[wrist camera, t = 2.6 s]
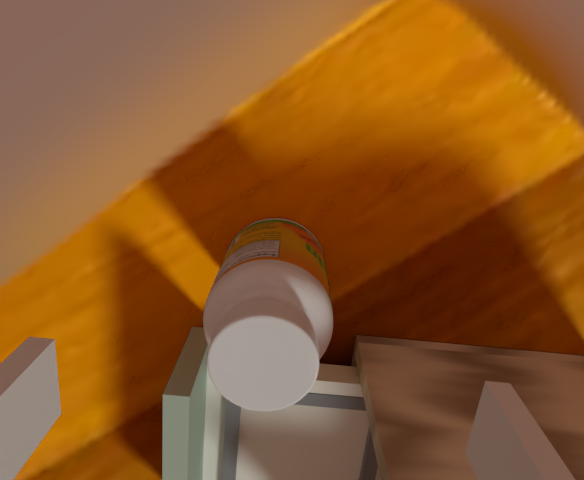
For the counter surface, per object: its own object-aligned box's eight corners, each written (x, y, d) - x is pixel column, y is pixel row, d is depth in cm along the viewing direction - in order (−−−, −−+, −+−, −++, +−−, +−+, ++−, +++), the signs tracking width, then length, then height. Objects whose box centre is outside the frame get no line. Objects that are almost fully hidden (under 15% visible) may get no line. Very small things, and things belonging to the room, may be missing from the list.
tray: (185, 506, 30) (160, 603, 25) (191, 326, 26) (161, 394, 20) (394, 524, 31) (416, 624, 25) (434, 348, 26) (471, 421, 21)
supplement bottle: (336, 292, 26) (358, 408, 17) (246, 317, 26) (218, 443, 17) (308, 202, 24) (314, 277, 15) (212, 232, 25) (161, 320, 15)
